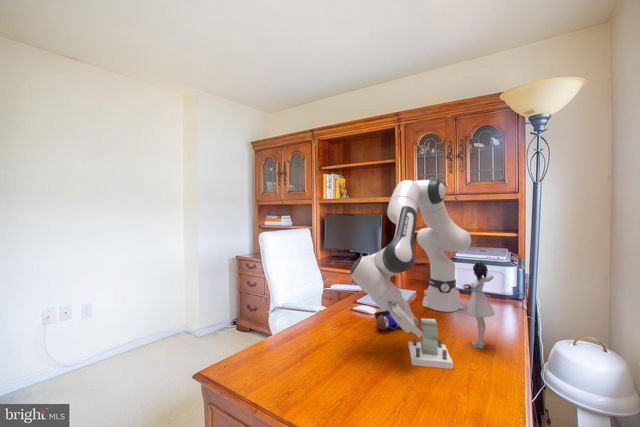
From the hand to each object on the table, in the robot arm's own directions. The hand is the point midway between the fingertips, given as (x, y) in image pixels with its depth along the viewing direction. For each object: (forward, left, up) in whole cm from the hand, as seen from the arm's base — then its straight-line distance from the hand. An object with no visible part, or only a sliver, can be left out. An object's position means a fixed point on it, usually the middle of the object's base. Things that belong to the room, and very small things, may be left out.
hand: (419, 329), depth 98 cm
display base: (0, +3, -9) cm, 10 cm away
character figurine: (-22, -8, -10) cm, 25 cm away
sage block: (0, +3, -7) cm, 8 cm away
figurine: (-11, +22, -9) cm, 26 cm away
